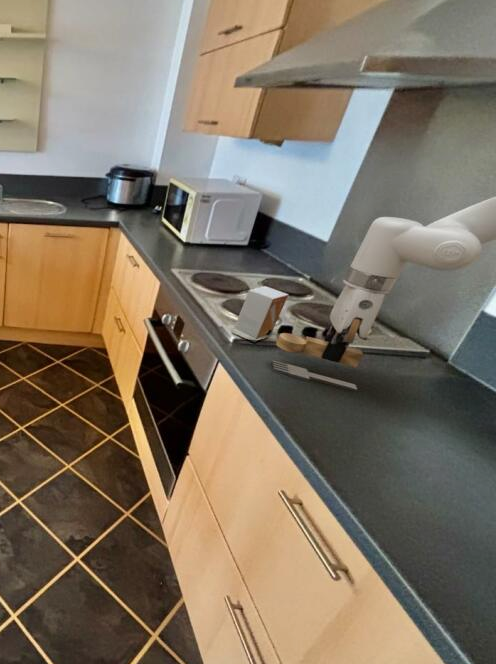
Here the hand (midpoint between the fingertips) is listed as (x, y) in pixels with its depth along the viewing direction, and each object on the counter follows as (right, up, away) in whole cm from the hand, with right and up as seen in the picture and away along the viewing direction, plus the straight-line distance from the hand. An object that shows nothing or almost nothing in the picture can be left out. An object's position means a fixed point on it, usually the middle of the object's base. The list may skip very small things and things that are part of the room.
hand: (328, 356), depth 92 cm
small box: (-4, +4, +21) cm, 22 cm away
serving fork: (-1, -5, +3) cm, 6 cm away
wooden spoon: (-2, 0, +1) cm, 3 cm away
